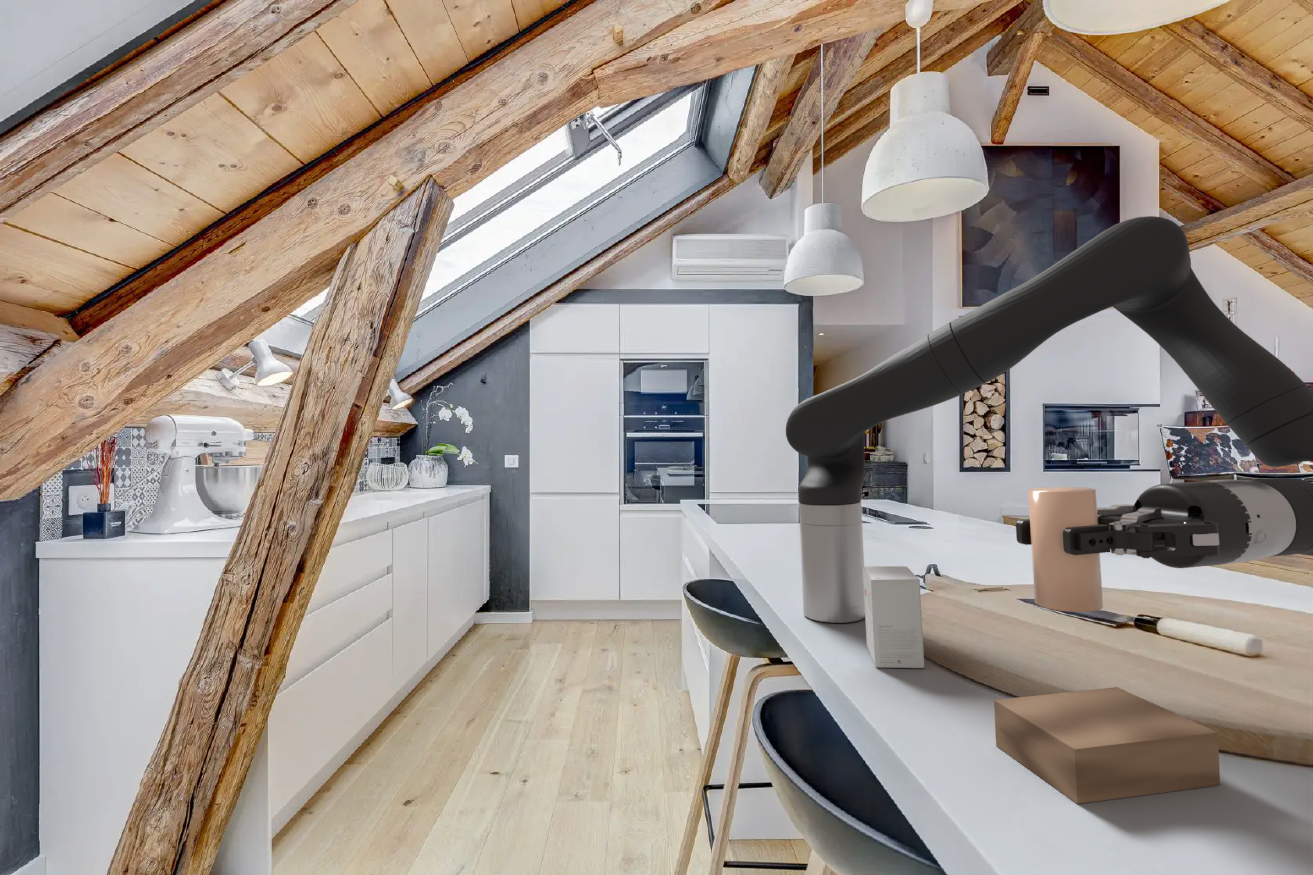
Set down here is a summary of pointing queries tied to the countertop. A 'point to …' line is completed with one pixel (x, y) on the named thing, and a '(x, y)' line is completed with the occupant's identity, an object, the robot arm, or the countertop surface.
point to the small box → (893, 617)
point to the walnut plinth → (1106, 744)
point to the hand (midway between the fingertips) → (1042, 536)
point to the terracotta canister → (1055, 571)
